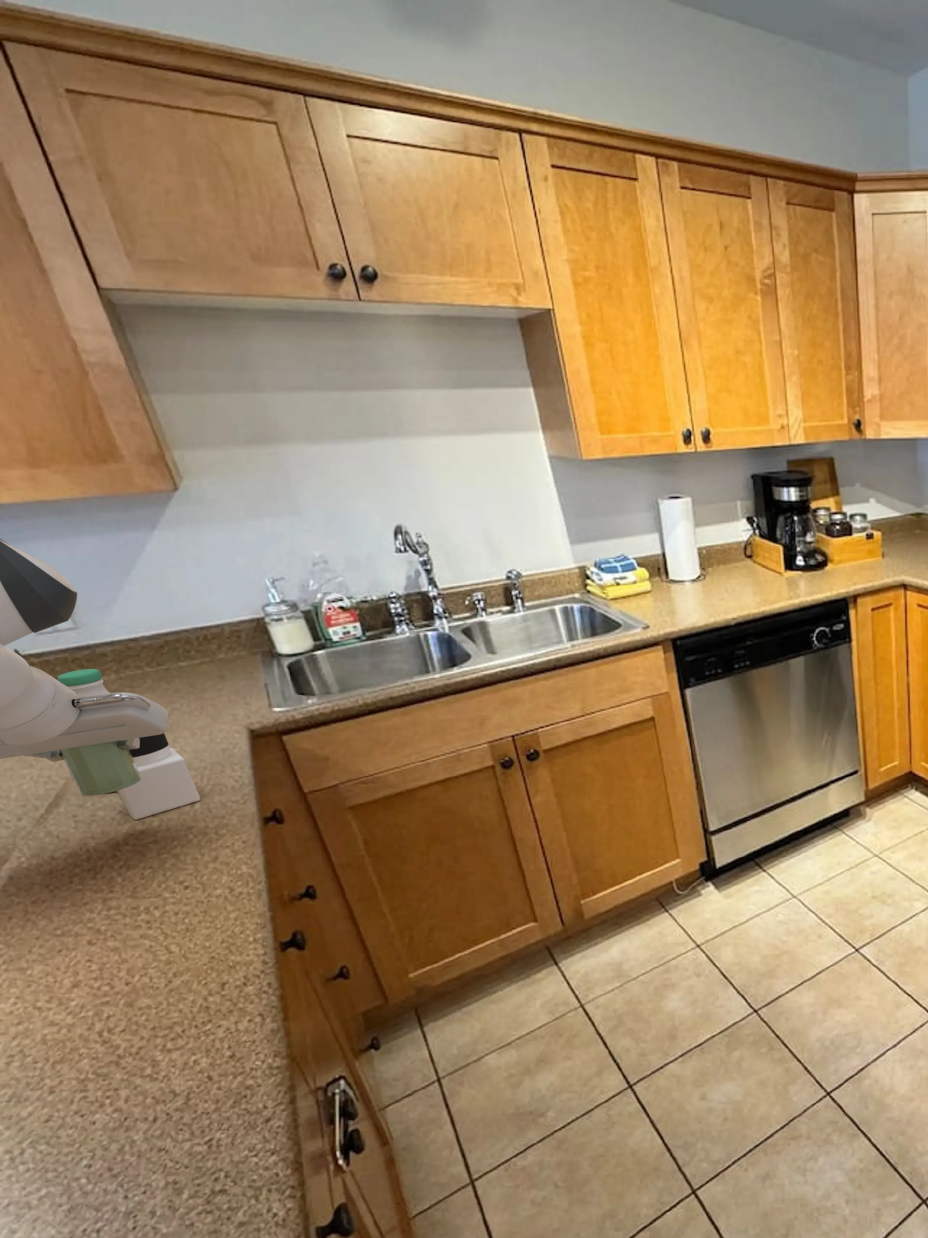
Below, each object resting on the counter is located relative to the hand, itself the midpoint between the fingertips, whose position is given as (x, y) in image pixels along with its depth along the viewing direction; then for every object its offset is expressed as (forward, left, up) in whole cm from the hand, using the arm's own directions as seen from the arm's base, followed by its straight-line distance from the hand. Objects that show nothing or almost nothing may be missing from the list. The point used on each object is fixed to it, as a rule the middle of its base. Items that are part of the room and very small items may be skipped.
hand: (97, 750), depth 104 cm
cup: (0, -1, -5) cm, 5 cm away
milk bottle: (-4, +26, -14) cm, 29 cm away
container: (+2, +11, -14) cm, 18 cm away
